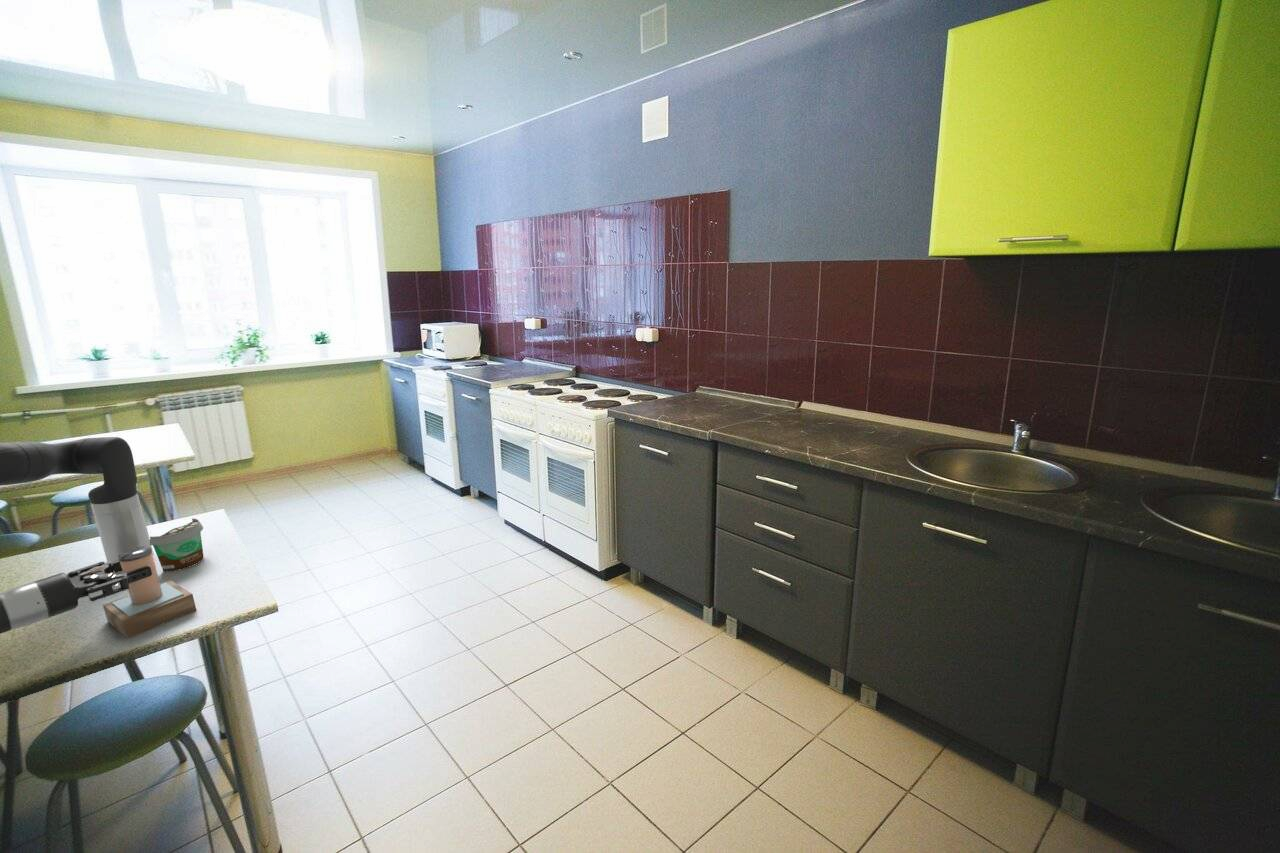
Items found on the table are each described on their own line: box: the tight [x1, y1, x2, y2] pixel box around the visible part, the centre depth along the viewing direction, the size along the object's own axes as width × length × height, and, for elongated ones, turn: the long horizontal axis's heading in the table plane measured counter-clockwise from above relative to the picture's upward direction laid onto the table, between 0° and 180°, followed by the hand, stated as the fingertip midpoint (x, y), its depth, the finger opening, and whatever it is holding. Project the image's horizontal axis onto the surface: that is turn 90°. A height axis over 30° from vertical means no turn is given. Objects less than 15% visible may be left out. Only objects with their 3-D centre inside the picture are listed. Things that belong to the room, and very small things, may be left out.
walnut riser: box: [102, 580, 197, 639], centre depth 126 cm, size 12×12×4 cm
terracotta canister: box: [118, 546, 163, 605], centre depth 124 cm, size 5×5×11 cm
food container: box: [149, 518, 204, 572], centre depth 149 cm, size 12×6×10 cm, turn 168°
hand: (143, 565), depth 124 cm, fingers open, 8 cm apart
